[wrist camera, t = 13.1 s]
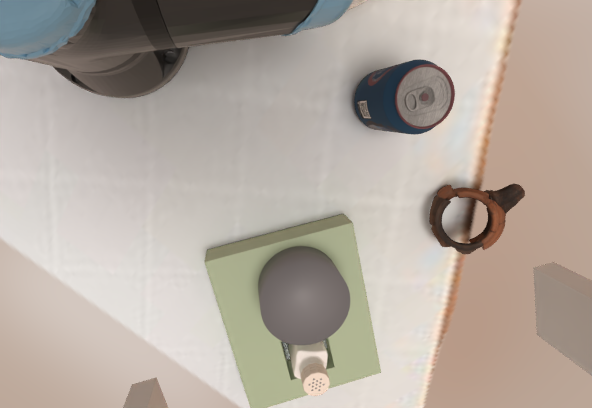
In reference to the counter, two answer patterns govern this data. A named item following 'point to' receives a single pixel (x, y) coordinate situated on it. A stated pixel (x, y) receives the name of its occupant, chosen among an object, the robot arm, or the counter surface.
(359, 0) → the white cup
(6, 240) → the counter surface
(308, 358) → the pepper shaker
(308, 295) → the green knob base
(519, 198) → the dark brown open frame
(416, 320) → the counter surface
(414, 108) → the soda can
